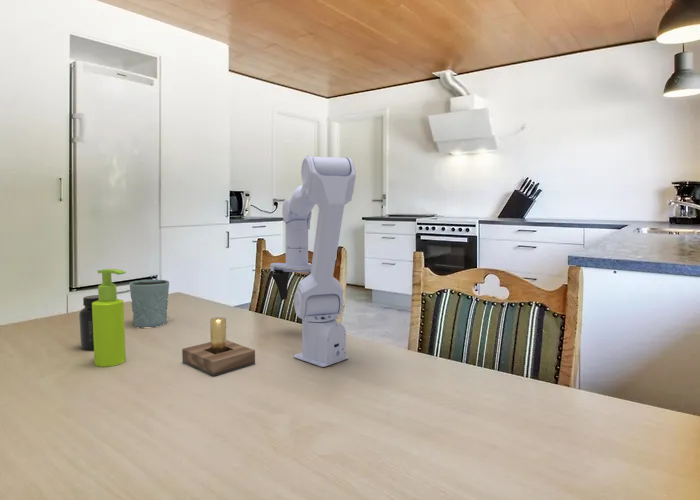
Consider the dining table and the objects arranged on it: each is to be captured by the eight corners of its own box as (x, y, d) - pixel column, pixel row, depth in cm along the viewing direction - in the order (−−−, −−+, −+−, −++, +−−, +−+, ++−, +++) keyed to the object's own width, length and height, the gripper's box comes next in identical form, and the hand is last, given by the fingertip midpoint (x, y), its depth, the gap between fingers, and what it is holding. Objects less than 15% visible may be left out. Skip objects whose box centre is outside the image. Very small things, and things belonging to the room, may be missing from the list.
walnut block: (255, 363, 97) (254, 350, 97) (213, 376, 90) (213, 361, 90) (223, 351, 105) (223, 338, 105) (182, 362, 98) (182, 348, 97)
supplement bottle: (119, 342, 111) (117, 294, 110) (101, 351, 105) (99, 299, 103) (93, 341, 112) (91, 293, 111) (73, 350, 105) (71, 299, 104)
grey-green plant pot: (122, 326, 126) (121, 283, 124) (148, 318, 135) (147, 278, 134) (153, 330, 123) (152, 285, 122) (177, 321, 132) (176, 280, 131)
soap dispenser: (117, 368, 94) (113, 271, 92) (88, 365, 95) (83, 270, 93) (136, 359, 100) (132, 268, 98) (108, 356, 101) (104, 267, 99)
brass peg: (229, 360, 98) (229, 318, 97) (217, 364, 95) (216, 321, 94) (220, 356, 100) (219, 316, 99) (207, 360, 97) (207, 319, 96)
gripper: (329, 247, 117) (329, 299, 118) (279, 245, 122) (280, 295, 124) (317, 249, 110) (317, 305, 112) (265, 247, 116) (266, 300, 117)
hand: (297, 300), depth 117 cm, fingers open, 7 cm apart
